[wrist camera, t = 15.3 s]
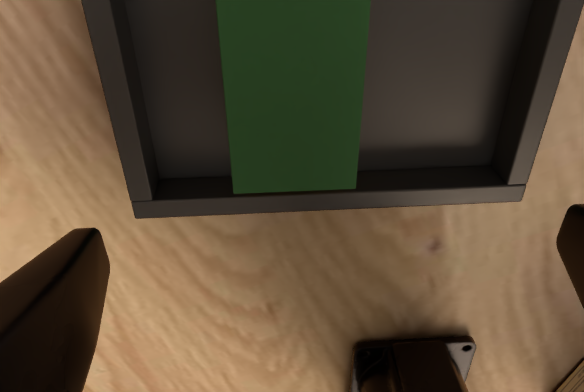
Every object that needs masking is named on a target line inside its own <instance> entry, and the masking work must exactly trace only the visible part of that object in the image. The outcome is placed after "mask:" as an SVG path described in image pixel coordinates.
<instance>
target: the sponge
mask: <svg viewBox="0 0 584 392" xmlns="http://www.w3.org/2000/svg"><path fill="white" fill-rule="evenodd" d="M215 3H216V14H217V25H218V35H219V46H220V57H221V67H222V78H223V89H224V99H225V110H226V120H227V131H228V142H229V152H230V163H231V174H232V184H233V193H234V194H240V193H264V192H289V191H313V190H338V189H355V188H356V180H357V168H358V155H359V143H360V130H361V118H362V105H363V93H364V80H365V68H366V55H367V43H368V31H369V18H370V6H371V0H215Z"/></svg>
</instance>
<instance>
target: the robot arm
mask: <svg viewBox="0 0 584 392" xmlns="http://www.w3.org/2000/svg"><path fill="white" fill-rule="evenodd" d="M556 243H557V249H558V252H559V254H560V256H561V259H562V261H563V263H564V265H565V268H566V270H567V272H568V274H569V277H570V279H571V281H572V284H573V286H574V288H575V290H576V293H577V295H578V297H579V299H580V302H581V304H582V306H583V308H584V204H575V205H572V206H570V207H569V209H568V210H567V212H566V215H565V217H564V220H563V223H562V225H561V228H560V230H559V233H558V236H557V241H556ZM109 274H110V263H109V259H108V255H107V252H106V249H105V246H104V242H103V239H102V236H101V233H100V232H99V230H98V229H96V228H78V229H74V230H72V231H71V232H69V233H68V234H66V235H65V236H64V237H62V238H61V239H60V240H58V241H57V242H56V243H54V244H53V245H51V246H50V247H49V248H47V249H46V250H45V251H43V252H42V253H40V254H39V255H38V256H36V257H35V258H34V259H32V260H31V261H30V262H28V263H27V264H25V265H24V266H23V267H21V268H20V269H19V270H17V271H16V272H14V273H13V274H12V275H10V276H9V277H8V278H6V279H5V280H3V281H2V282H1V283H0V392H82V391H83V388H84V385H85V382H86V378H87V375H88V372H89V369H90V365H91V362H92V359H93V355H94V352H95V348H96V345H97V340H98V335H99V330H100V324H101V318H102V313H103V307H104V302H105V296H106V291H107V285H108V279H109ZM475 350H476V344H475V342H474V340H473V338H472V337H470V336H457V337H440V338H422V339H405V340H387V341H370V342H360V343H358V344H356V345H355V346H354V348H353V356H352V366H351V377H350V387H349V392H468V389H467V387H466V385H465V381H466V378H467V375H468V372H469V368H470V365H471V362H472V359H473V356H474V353H475Z"/></svg>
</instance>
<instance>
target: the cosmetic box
mask: <svg viewBox="0 0 584 392" xmlns="http://www.w3.org/2000/svg"><path fill="white" fill-rule="evenodd" d="M556 392H584V361H583V362H582V363H581V364H580V365H579V366H578V367H577V369H576V370H575V371H574V372H573V373H572V374H571V375H570V376H569V377H568V378H567V379H566V381H565V382H564V383H563V384H562V385H561V386H560V387H559V388H558V390H557V391H556Z"/></svg>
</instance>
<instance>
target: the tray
mask: <svg viewBox="0 0 584 392" xmlns="http://www.w3.org/2000/svg"><path fill="white" fill-rule="evenodd" d="M81 1H82V5H83V9H84V14H85V18H86V22H87V26H88V30H89V34H90V38H91V42H92V46H93V50H94V54H95V58H96V62H97V66H98V70H99V74H100V78H101V83H102V87H103V91H104V95H105V99H106V103H107V107H108V111H109V115H110V119H111V123H112V127H113V131H114V135H115V139H116V143H117V148H118V152H119V156H120V160H121V164H122V168H123V172H124V176H125V180H126V184H127V188H128V192H129V196H130V200H131V201H132V202H131V203H132V207H133V211H134V215H135V218H136V219H141V218H164V217H186V216H208V215H231V214H253V213H275V212H297V211H320V210H342V209H364V208H387V207H409V206H431V205H453V204H476V203H498V202H520V201H521V200H522V197H523V194H524V191H525V188H526V184H527V182H528V179H529V175H530V172H531V169H532V166H533V163H534V160H535V157H536V153H537V150H538V147H539V144H540V141H541V138H542V134H543V131H544V128H545V125H546V122H547V119H548V115H549V112H550V109H551V106H552V103H553V100H554V96H555V93H556V90H557V87H558V84H559V81H560V78H561V74H562V71H563V68H564V65H565V62H566V59H567V55H568V52H569V49H570V46H571V43H572V40H573V36H574V33H575V30H576V27H577V24H578V21H579V17H580V14H581V11H582V8H583V5H584V0H371V6H370V18H369V31H368V43H367V55H366V68H365V80H364V93H363V105H362V118H361V130H360V143H359V155H358V168H357V180H356V188H355V189H338V190H313V191H289V192H264V193H240V194H234V193H233V184H232V174H231V163H230V152H229V142H228V131H227V120H226V110H225V99H224V89H223V78H222V67H221V57H220V46H219V35H218V25H217V14H216V3H215V0H81Z"/></svg>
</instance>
